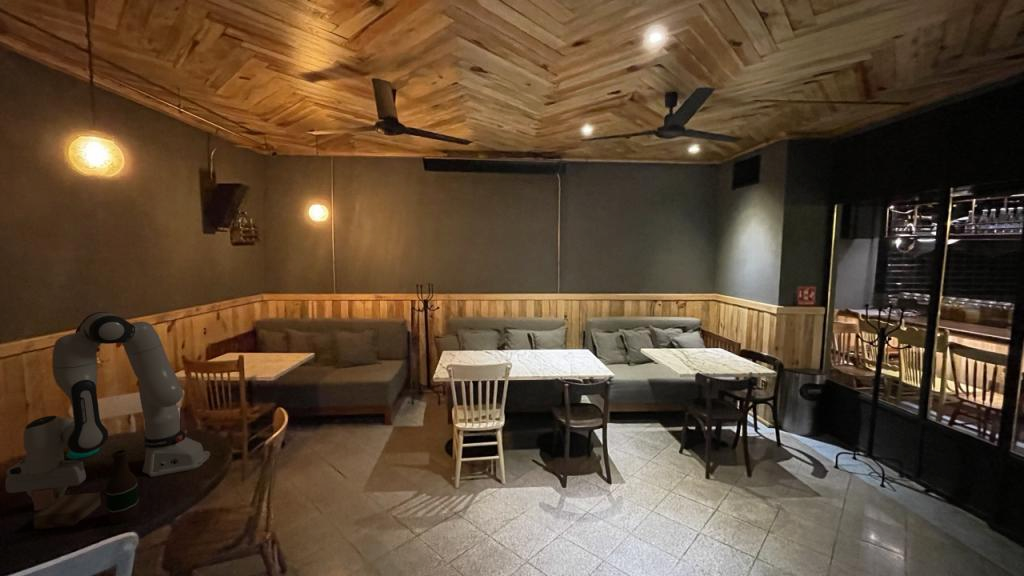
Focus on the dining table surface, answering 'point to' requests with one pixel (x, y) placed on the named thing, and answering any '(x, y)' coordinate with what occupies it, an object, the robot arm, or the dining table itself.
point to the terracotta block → (44, 498)
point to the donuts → (78, 456)
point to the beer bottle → (122, 491)
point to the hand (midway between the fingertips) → (48, 498)
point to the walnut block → (67, 510)
